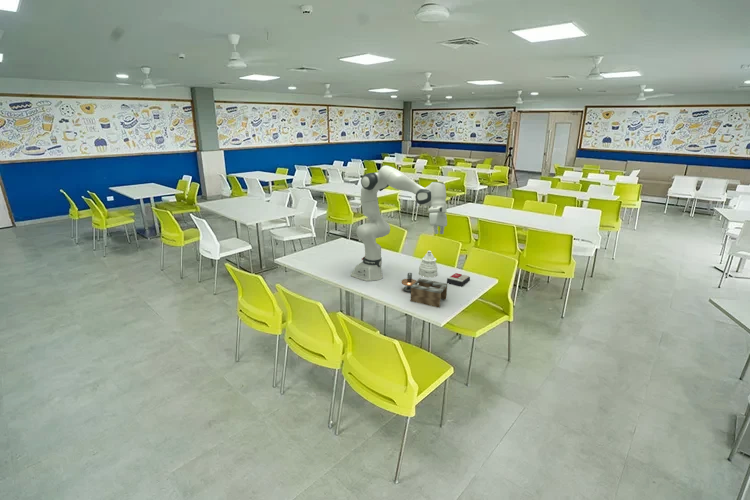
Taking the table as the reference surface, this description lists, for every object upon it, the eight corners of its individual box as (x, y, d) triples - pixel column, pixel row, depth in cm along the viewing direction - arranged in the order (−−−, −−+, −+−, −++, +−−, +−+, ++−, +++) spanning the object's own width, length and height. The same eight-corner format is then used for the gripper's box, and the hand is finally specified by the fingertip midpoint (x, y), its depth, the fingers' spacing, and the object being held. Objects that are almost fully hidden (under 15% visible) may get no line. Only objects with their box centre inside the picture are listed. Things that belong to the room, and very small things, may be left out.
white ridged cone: (436, 278, 267) (438, 253, 262) (418, 276, 270) (419, 252, 264) (437, 272, 279) (439, 248, 274) (419, 270, 282) (421, 247, 276)
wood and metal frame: (410, 301, 230) (411, 285, 227) (418, 292, 242) (419, 278, 239) (439, 307, 222) (440, 291, 219) (446, 298, 234) (447, 283, 231)
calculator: (470, 275, 265) (462, 281, 252) (469, 281, 266) (461, 287, 253) (455, 272, 270) (447, 277, 258) (454, 278, 271) (446, 283, 259)
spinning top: (398, 291, 244) (399, 274, 240) (404, 286, 252) (405, 269, 249) (413, 294, 239) (414, 277, 236) (418, 289, 248) (420, 272, 245)
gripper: (439, 211, 230) (439, 234, 230) (427, 209, 212) (427, 233, 212) (449, 210, 227) (449, 233, 227) (438, 208, 209) (438, 233, 209)
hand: (439, 233), depth 220 cm, fingers open, 8 cm apart
